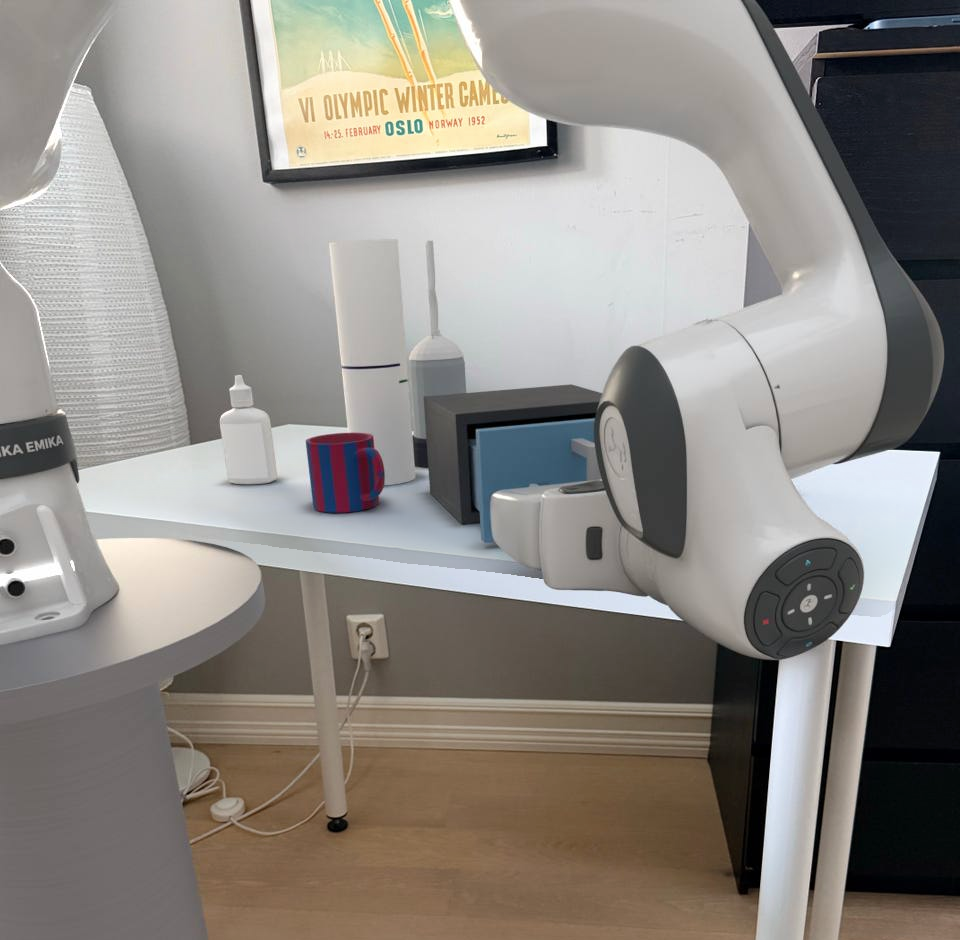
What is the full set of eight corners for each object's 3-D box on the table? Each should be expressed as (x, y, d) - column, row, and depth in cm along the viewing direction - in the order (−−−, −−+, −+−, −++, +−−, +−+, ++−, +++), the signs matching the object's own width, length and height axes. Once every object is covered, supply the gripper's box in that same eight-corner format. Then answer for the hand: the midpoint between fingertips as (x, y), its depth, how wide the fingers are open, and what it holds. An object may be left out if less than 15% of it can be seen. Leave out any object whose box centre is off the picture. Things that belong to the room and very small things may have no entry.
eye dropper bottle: (252, 487, 105) (236, 378, 100) (223, 482, 108) (207, 376, 104) (283, 480, 108) (269, 374, 103) (254, 475, 111) (239, 372, 107)
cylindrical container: (340, 480, 106) (315, 244, 97) (390, 469, 111) (370, 242, 101) (377, 488, 101) (354, 240, 92) (428, 477, 106) (411, 238, 96)
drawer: (694, 536, 76) (699, 422, 72) (502, 560, 72) (497, 441, 69) (606, 489, 93) (606, 395, 90) (447, 507, 89) (441, 409, 86)
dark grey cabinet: (623, 506, 89) (624, 399, 85) (461, 524, 85) (455, 414, 82) (572, 478, 101) (571, 384, 98) (430, 493, 98) (423, 396, 94)
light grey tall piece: (480, 453, 118) (469, 239, 108) (470, 466, 110) (457, 237, 101) (417, 455, 119) (402, 243, 110) (403, 468, 111) (385, 242, 102)
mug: (360, 494, 99) (353, 430, 96) (407, 510, 91) (402, 440, 89) (302, 505, 96) (294, 438, 93) (347, 522, 88) (339, 450, 85)
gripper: (814, 465, 62) (714, 435, 75) (524, 497, 58) (469, 459, 70) (806, 555, 65) (711, 511, 77) (527, 593, 60) (473, 540, 73)
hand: (593, 487), depth 74 cm, fingers open, 8 cm apart
